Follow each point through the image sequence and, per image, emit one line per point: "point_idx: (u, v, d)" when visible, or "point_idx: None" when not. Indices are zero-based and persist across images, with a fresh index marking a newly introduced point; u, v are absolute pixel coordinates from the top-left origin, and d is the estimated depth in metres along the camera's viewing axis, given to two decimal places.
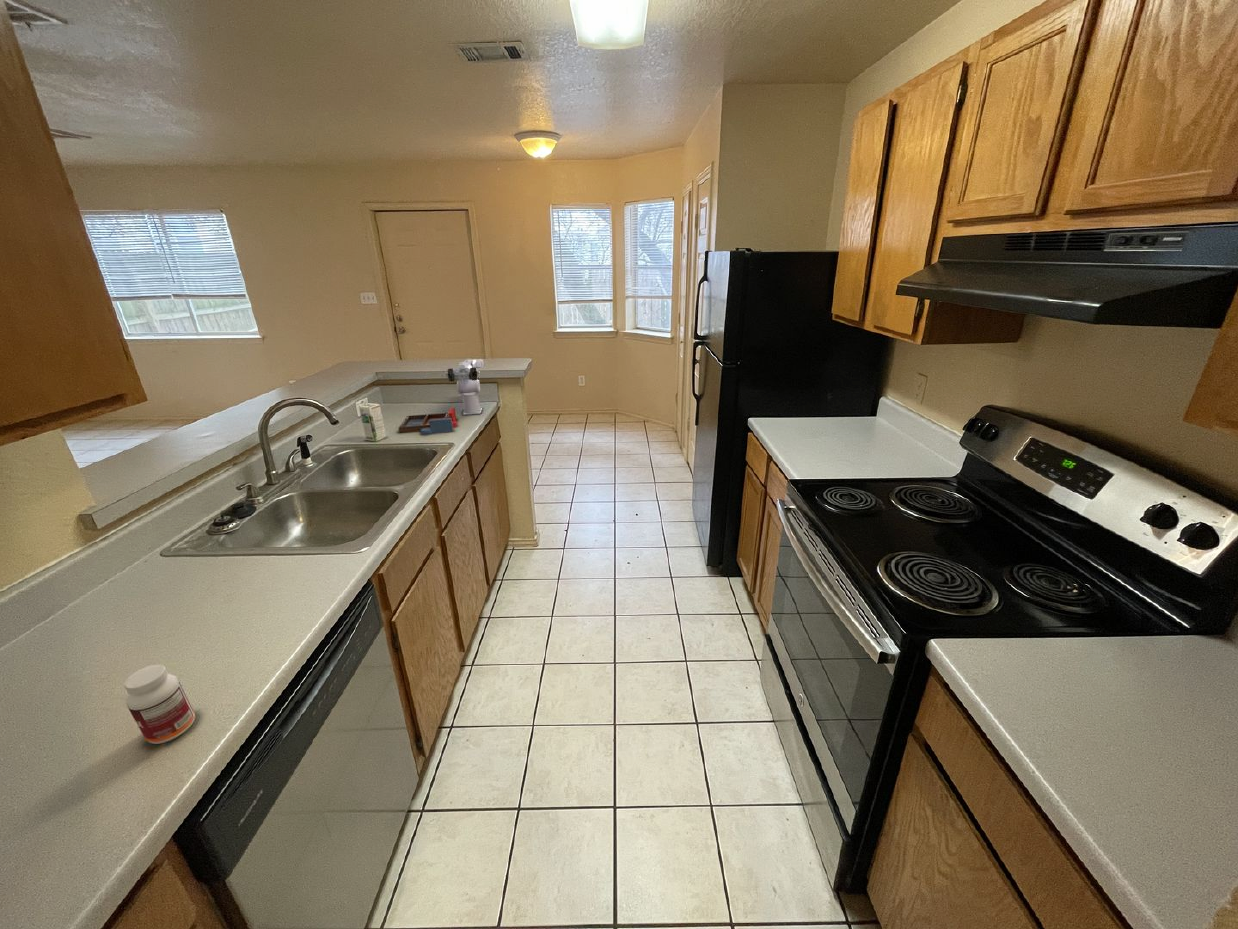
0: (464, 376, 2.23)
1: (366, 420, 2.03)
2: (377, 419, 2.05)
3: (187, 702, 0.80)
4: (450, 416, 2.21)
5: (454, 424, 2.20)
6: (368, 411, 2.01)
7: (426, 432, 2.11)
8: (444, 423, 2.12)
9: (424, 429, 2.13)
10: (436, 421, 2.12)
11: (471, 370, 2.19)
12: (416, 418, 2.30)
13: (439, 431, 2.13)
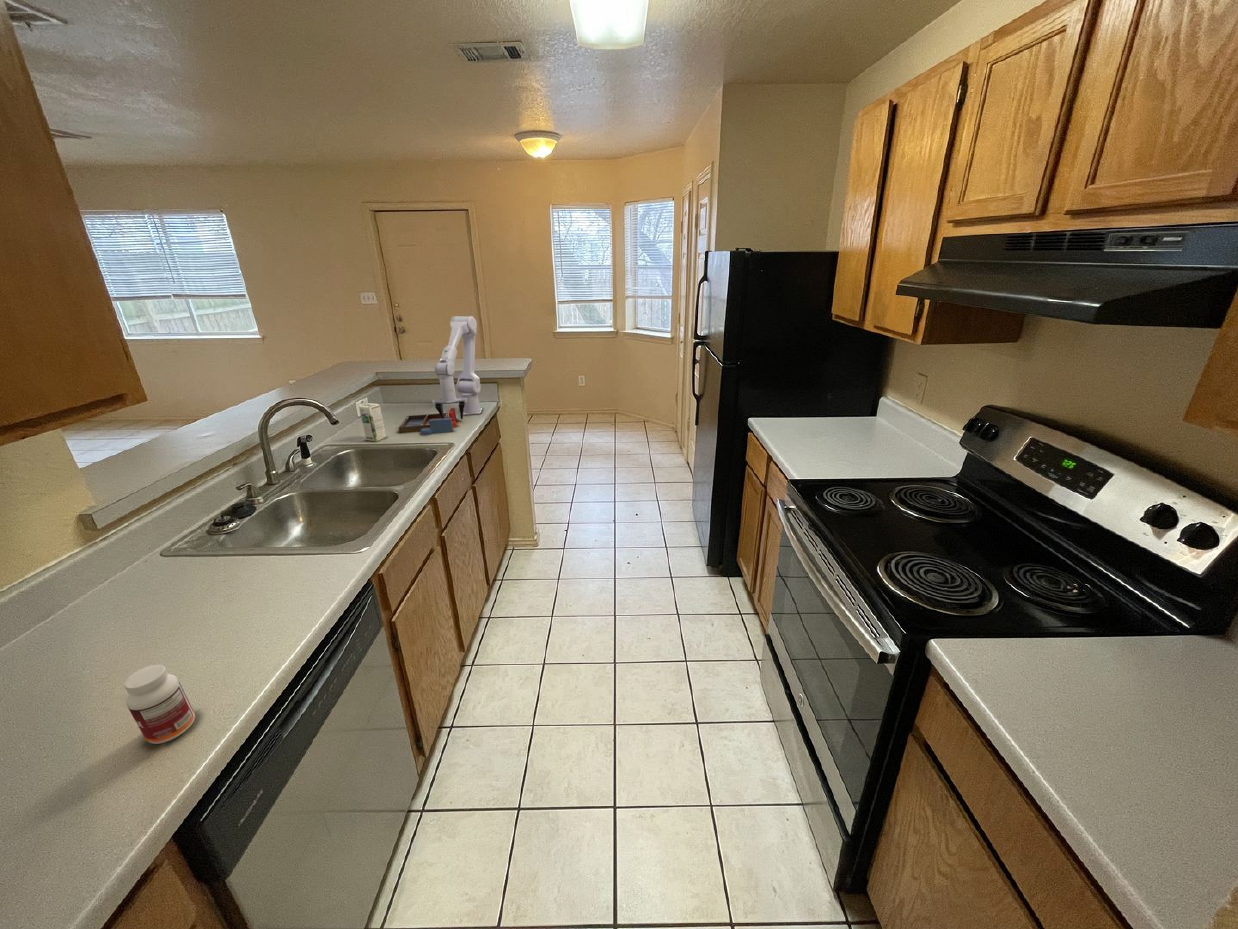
0: None
1: (366, 420, 2.03)
2: (377, 419, 2.05)
3: (187, 702, 0.80)
4: (450, 416, 2.21)
5: (454, 424, 2.20)
6: (368, 411, 2.01)
7: (426, 432, 2.11)
8: (444, 423, 2.12)
9: (424, 429, 2.13)
10: (436, 421, 2.12)
11: (460, 409, 2.23)
12: (416, 418, 2.30)
13: (439, 431, 2.13)
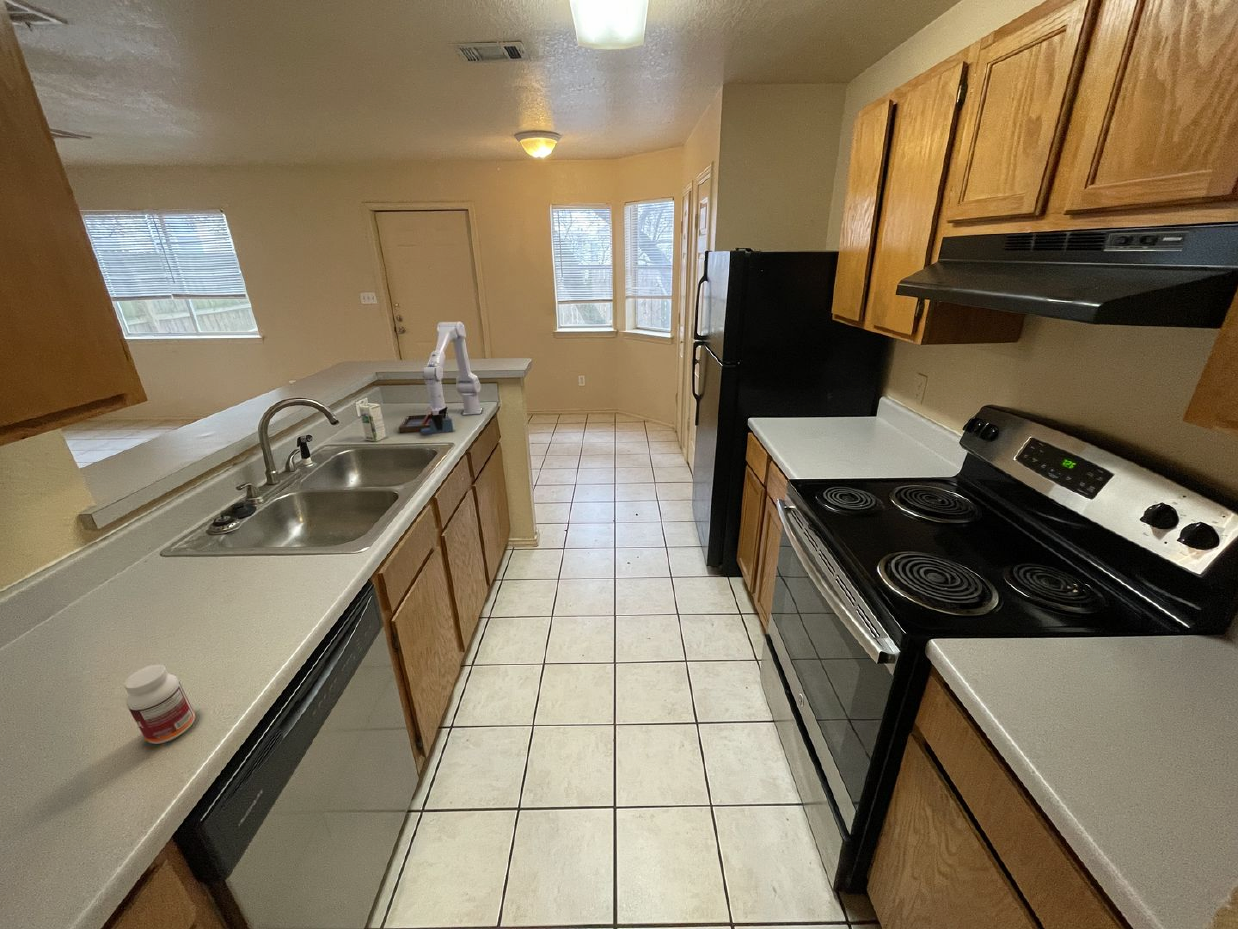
0: None
1: (366, 420, 2.03)
2: (377, 419, 2.05)
3: (187, 702, 0.80)
4: None
5: None
6: (368, 411, 2.01)
7: (426, 432, 2.11)
8: (444, 423, 2.12)
9: (424, 429, 2.13)
10: None
11: None
12: (416, 418, 2.30)
13: (439, 431, 2.13)
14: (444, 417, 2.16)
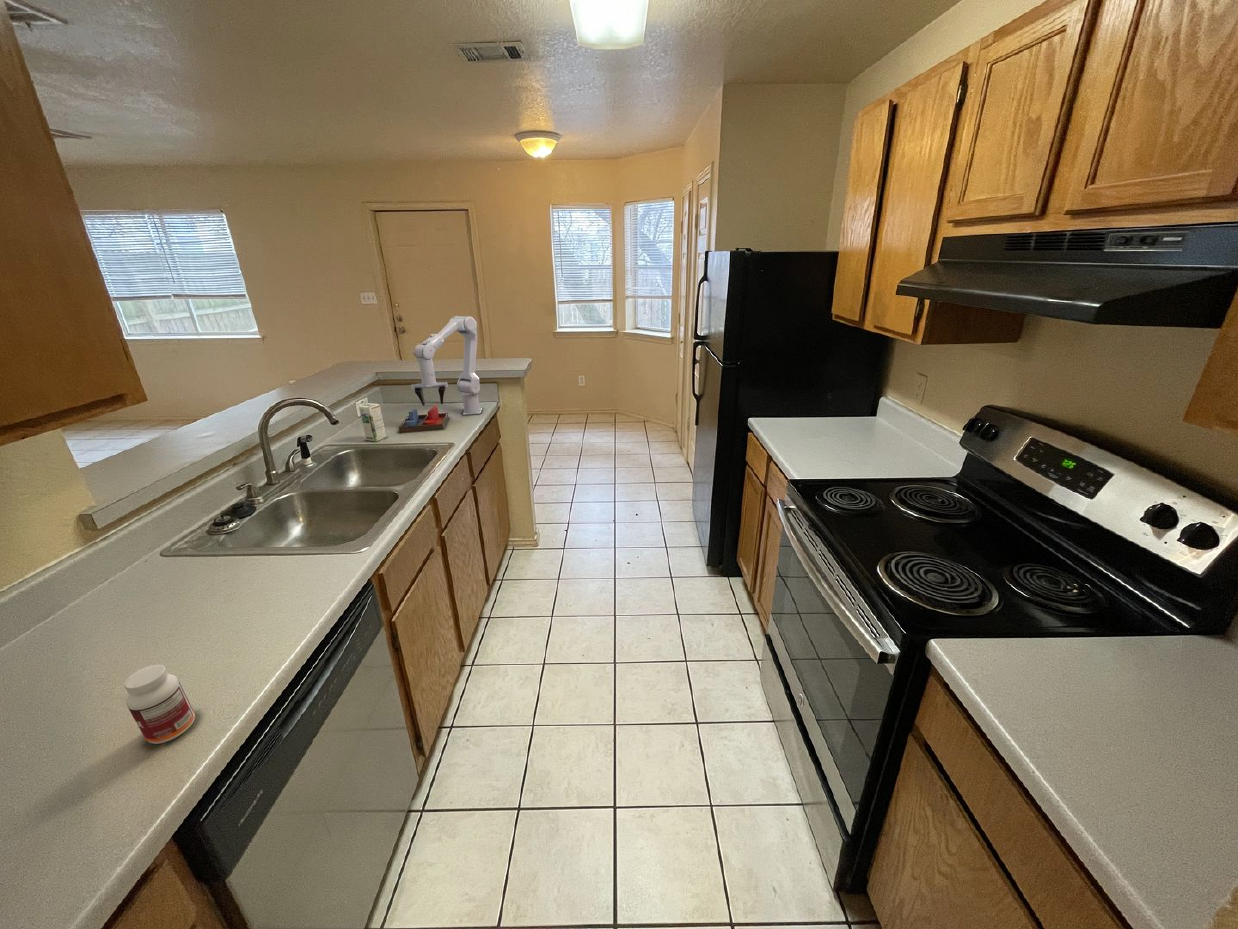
0: None
1: (366, 420, 2.03)
2: (377, 419, 2.05)
3: (187, 702, 0.80)
4: (429, 415, 2.22)
5: (432, 423, 2.20)
6: (368, 411, 2.01)
7: (416, 422, 2.18)
8: (416, 413, 2.24)
9: (411, 421, 2.16)
10: (414, 411, 2.21)
11: (440, 394, 2.17)
12: None
13: None
14: (423, 397, 2.20)
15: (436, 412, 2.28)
